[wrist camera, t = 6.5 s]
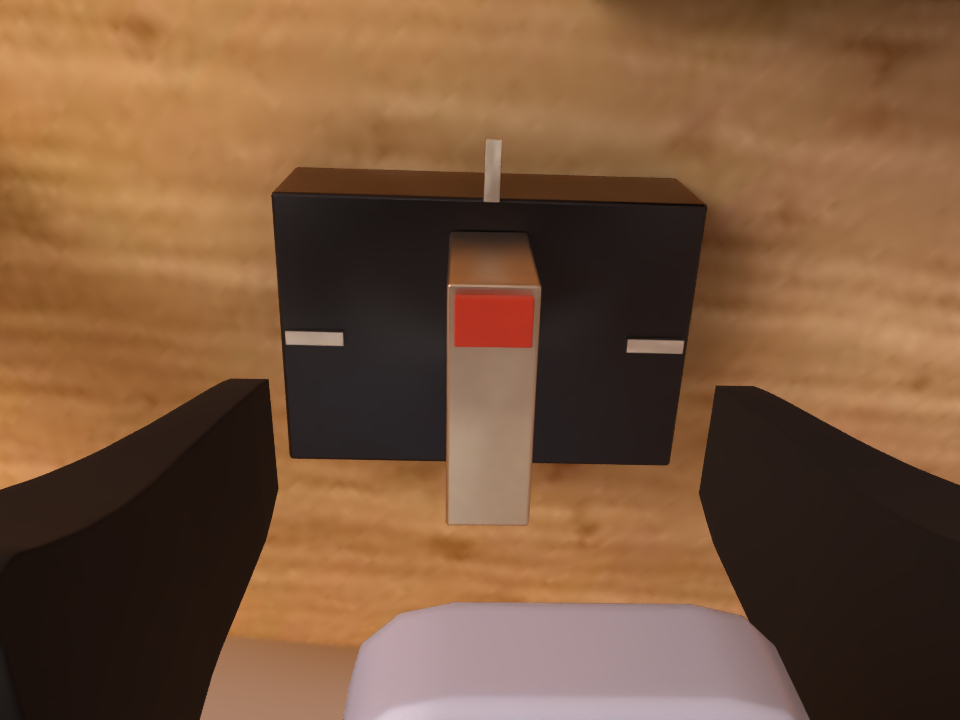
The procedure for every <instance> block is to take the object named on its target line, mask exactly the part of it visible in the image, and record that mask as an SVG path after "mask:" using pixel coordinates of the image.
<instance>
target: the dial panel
mask: <svg viewBox="0 0 960 720" xmlns="http://www.w3.org/2000/svg"><path fill="white" fill-rule="evenodd" d="M501 155H502V138H486V142H485V170H484V173H468V172H435V171H401V170H368V169H334V168H300V167H298V168H295V169H294V170H293V172H292V173H291V174H290V175H289V176H288V177H287V178H286V179H285V180H284V181H283V182H282V183H281V184H280V185H279V186H278V187H277V188H276V189H275V190H274V191H273V192H272V195H271V197H272V211H273V225H274V239H275V254H276V268H277V282H278V296H279V310H280V325H281V339H282V353H283V367H284V381H285V396H286V410H287V424H288V438H289V452H290V457H291V458H297V459H350V460H404V461H446V364H447V274H448V256H449V237H450V233H451V232H515V233H527V235H528V239H529V243H530V246H531V250H532V254H533V257H534V261H535V265H536V269H537V272H538V276H539V280H540V283H541V287H542V290H541V308H540V327H539V345H538V364H537V382H536V401H535V419H534V438H533V456H532V463H564V464H618V465H668V464H669V462H670V456H671V449H672V442H673V436H674V429H675V422H676V415H677V409H678V402H679V395H680V388H681V381H682V375H683V368H684V361H685V354H686V348H687V341H688V334H689V327H690V321H691V314H692V307H693V300H694V293H695V287H696V280H697V273H698V266H699V260H700V253H701V246H702V239H703V233H704V226H705V219H706V212H707V205H706V204H705V203H704V202H702V201H701V200H700V199H699V198H698V197H697V196H695V195H694V194H693V193H692V192H691V191H690V190H689V189H687V188H686V187H685V186H684V185H683V184H682V183H680V182H679V181H678V180H677V179H670V178H637V177H603V176H569V175H536V174H502V173H501Z"/></svg>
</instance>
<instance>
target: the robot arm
mask: <svg viewBox="0 0 960 720" xmlns="http://www.w3.org/2000/svg"><path fill="white" fill-rule="evenodd" d="M277 492H278V479H277V468H276V457H275V446H274V435H273V423H272V412H271V401H270V390H269V379H228V380H226V381H223V382H221V383H219V384H217V385H216V386H214V387H212V388H210V389H208V390H207V391H205V392H203V393H201V394H200V395H198V396H196V397H195V398H193V399H191V400H190V401H188V402H186V403H185V404H183V405H181V406H180V407H178V408H176V409H175V410H173V411H171V412H170V413H168V414H166V415H164V416H163V417H161V418H159V419H158V420H156V421H154V422H153V423H151V424H149V425H147V426H145V427H143V428H141V429H140V430H138V431H136V432H134V433H132V434H130V435H128V436H126V437H125V438H123V439H121V440H119V441H117V442H115V443H113V444H111V445H110V446H108V447H106V448H104V449H102V450H100V451H98V452H96V453H94V454H91V455H89V456H87V457H85V458H83V459H80V460H78V461H76V462H74V463H71V464H69V465H67V466H64V467H62V468H59V469H57V470H54V471H52V472H50V473H47V474H45V475H42V476H39V477H37V478H34V479H32V480H28V481H25V482H22V483H19V484H16V485H13V486H10V487H7V488H4V489H1V490H0V720H200V716H201V713H202V709H203V706H204V702H205V699H206V695H207V692H208V688H209V685H210V681H211V677H212V674H213V671H214V669H215V666H216V663H217V660H218V657H219V655H220V651H221V649H222V647H223V644H224V642H225V639H226V637H227V635H228V632H229V630H230V627H231V625H232V622H233V620H234V618H235V615H236V613H237V610H238V608H239V605H240V603H241V601H242V598H243V596H244V593H245V591H246V588H247V586H248V584H249V581H250V579H251V576H252V574H253V571H254V569H255V566H256V564H257V561H258V559H259V556H260V554H261V551H262V549H263V546H264V544H265V541H266V538H267V534H268V530H269V526H270V522H271V518H272V514H273V510H274V505H275V501H276V497H277ZM699 495H700V499H701V502H702V506H703V510H704V514H705V517H706V521H707V524H708V528H709V531H710V534H711V537H712V541H713V544H714V546H715V548H716V551H717V553H718V555H719V557H720V560H721V562H722V564H723V566H724V568H725V570H726V573H727V575H728V577H729V579H730V581H731V584H732V586H733V588H734V590H735V592H736V594H737V596H738V598H739V600H740V603H741V605H742V607H743V609H744V611H745V613H746V615H747V617H748V620H749V621H748V620H747V619H746V618H745V617H744V616H741V615H737V614H732V613H728V612H724V611H719V610H715V609H711V608H706V607H702V606H698V605H693V604H615V603H487V602H453V603H448V604H443V605H438V606H433V607H429V608H424V609H419V610H414V611H409V612H404V613H400V614H398V615H397V616H396V617H395V618H393V619H392V620H391V621H390V622H388V623H387V624H386V625H385V626H383V627H382V628H381V629H379V630H378V631H377V632H376V633H374V634H373V635H372V636H371V637H369V638H368V639H367V640H366V641H364V642H363V643H362V644H361V647H360V650H359V654H358V657H357V660H356V663H355V667H354V670H353V673H352V677H351V680H350V683H349V689H348V695H347V701H346V707H345V713H344V718H343V720H960V485H958V484H955V483H953V482H950V481H948V480H945V479H942V478H940V477H937V476H935V475H932V474H930V473H927V472H925V471H922V470H920V469H918V468H915V467H913V466H911V465H909V464H906V463H904V462H902V461H900V460H898V459H896V458H894V457H892V456H890V455H887V454H885V453H883V452H881V451H879V450H877V449H875V448H873V447H871V446H869V445H867V444H865V443H863V442H861V441H859V440H857V439H855V438H853V437H851V436H849V435H848V434H846V433H844V432H842V431H840V430H838V429H836V428H834V427H833V426H831V425H829V424H827V423H825V422H823V421H822V420H820V419H818V418H816V417H814V416H813V415H811V414H809V413H807V412H805V411H803V410H802V409H800V408H798V407H796V406H794V405H793V404H791V403H789V402H787V401H785V400H783V399H781V398H779V397H777V396H775V395H773V394H771V393H769V392H767V391H765V390H762V389H760V388H757V387H754V386H716V389H715V395H714V401H713V408H712V414H711V420H710V427H709V433H708V439H707V446H706V452H705V459H704V465H703V471H702V478H701V484H700V490H699Z"/></svg>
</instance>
